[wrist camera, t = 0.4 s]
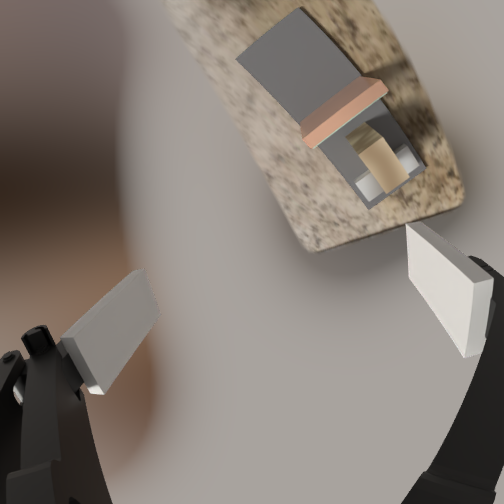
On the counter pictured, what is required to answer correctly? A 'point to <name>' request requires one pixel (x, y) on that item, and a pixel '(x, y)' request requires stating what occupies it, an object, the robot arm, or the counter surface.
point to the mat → (319, 90)
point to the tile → (341, 109)
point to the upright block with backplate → (380, 162)
